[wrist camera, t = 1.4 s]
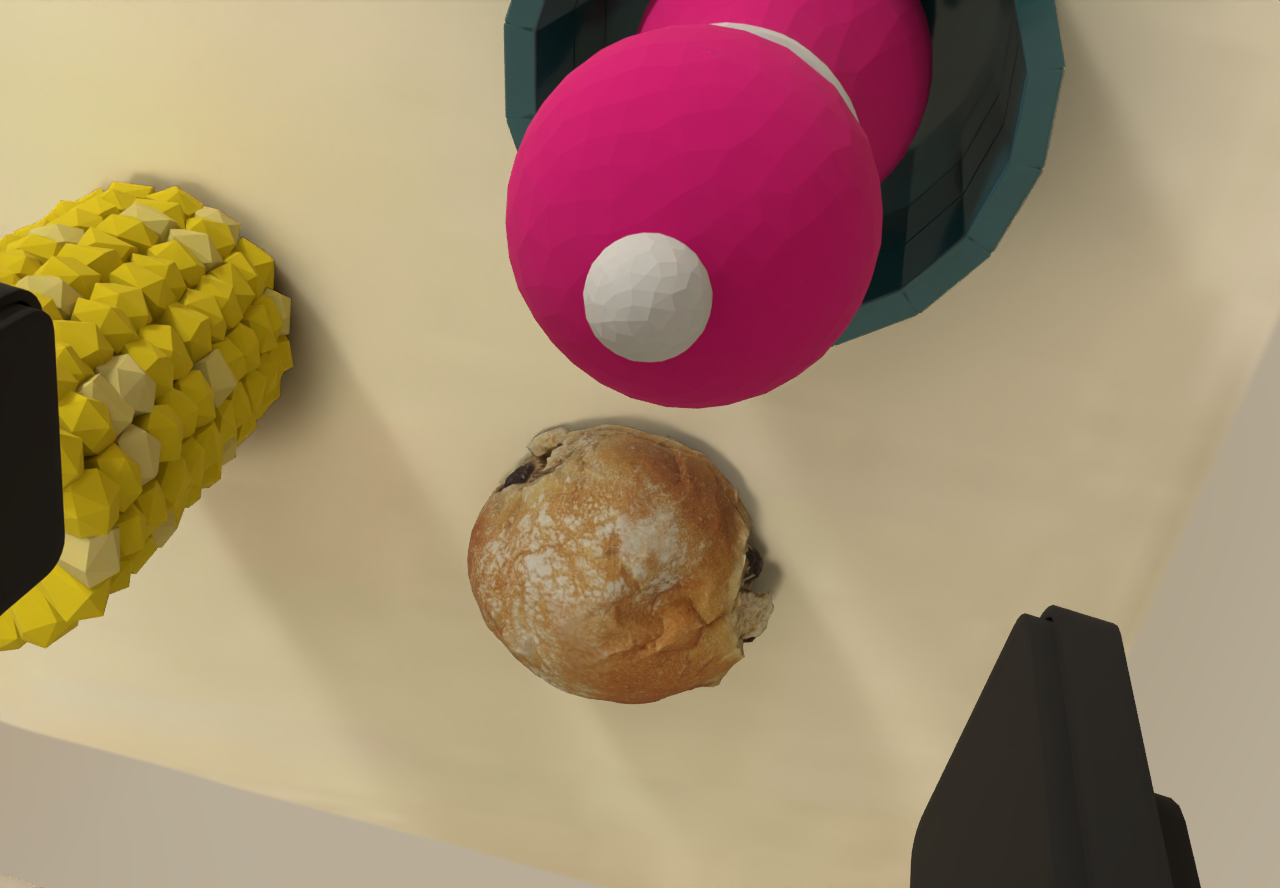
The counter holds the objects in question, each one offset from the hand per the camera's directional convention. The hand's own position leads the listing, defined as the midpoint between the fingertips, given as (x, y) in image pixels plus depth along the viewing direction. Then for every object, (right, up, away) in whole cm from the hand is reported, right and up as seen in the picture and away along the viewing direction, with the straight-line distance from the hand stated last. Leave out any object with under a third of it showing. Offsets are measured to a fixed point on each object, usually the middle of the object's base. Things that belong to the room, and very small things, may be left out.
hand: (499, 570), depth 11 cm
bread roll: (+1, -2, +31) cm, 31 cm away
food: (-14, +6, +31) cm, 35 cm away
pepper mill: (+6, +12, +22) cm, 26 cm away
